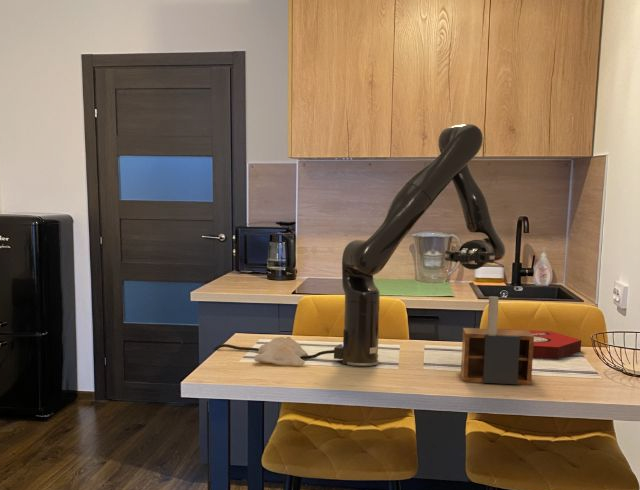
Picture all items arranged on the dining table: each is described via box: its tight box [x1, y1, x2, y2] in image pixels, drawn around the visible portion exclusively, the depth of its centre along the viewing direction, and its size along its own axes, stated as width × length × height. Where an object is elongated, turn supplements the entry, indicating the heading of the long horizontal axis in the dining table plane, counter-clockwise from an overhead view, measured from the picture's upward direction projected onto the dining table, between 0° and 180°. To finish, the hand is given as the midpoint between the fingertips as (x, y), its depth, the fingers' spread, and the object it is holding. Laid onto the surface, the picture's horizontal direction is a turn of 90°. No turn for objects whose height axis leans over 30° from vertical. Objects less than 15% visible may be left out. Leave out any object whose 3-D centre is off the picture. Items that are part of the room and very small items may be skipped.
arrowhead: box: [254, 336, 309, 367], centre depth 210 cm, size 14×5×30 cm
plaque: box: [504, 328, 582, 360], centre depth 221 cm, size 27×4×30 cm
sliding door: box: [482, 295, 520, 385], centre depth 177 cm, size 8×2×21 cm, turn 81°
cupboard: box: [460, 327, 534, 386], centre depth 183 cm, size 16×8×12 cm, turn 81°
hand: (462, 258), depth 179 cm, fingers closed
